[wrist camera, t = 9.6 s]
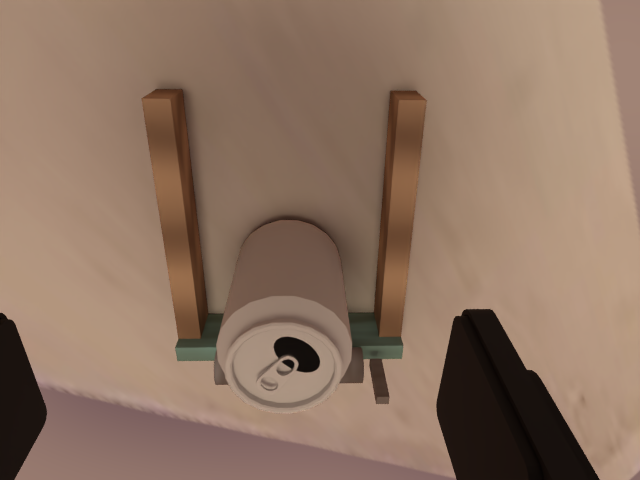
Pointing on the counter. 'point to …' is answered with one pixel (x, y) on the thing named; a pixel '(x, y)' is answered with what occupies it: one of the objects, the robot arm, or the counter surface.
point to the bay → (185, 252)
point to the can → (286, 319)
